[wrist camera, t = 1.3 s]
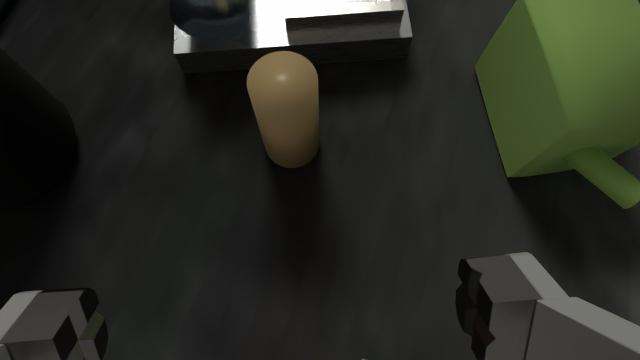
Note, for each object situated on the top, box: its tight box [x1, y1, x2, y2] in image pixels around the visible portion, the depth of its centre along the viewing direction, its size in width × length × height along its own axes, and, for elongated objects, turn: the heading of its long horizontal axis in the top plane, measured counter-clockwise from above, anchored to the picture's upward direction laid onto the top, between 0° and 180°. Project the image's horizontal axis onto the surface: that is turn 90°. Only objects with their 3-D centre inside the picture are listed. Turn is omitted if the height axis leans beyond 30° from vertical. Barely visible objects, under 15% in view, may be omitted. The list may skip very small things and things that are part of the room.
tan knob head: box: [247, 51, 320, 168], centre depth 33 cm, size 5×5×10 cm
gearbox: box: [475, 0, 640, 209], centre depth 34 cm, size 18×10×10 cm, turn 8°
